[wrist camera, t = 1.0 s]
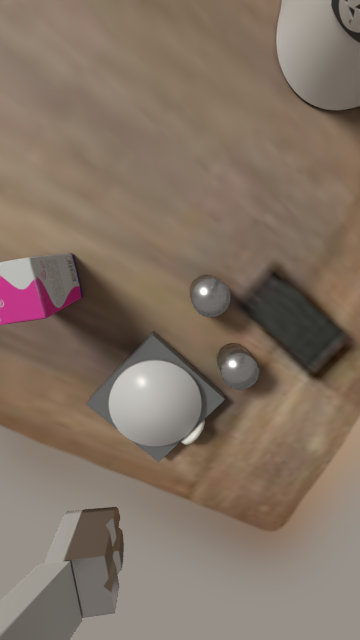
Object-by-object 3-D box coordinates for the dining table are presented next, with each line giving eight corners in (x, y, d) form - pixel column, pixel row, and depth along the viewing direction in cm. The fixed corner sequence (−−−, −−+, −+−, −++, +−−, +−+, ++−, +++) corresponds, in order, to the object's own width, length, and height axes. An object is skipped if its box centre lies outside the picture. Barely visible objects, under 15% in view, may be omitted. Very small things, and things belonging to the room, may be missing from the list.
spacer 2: (233, 336, 42) (241, 348, 37) (255, 357, 42) (266, 372, 38) (210, 359, 42) (215, 373, 37) (232, 379, 43) (240, 396, 38)
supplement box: (26, 260, 39) (-33, 265, 28) (73, 252, 39) (33, 255, 28) (38, 305, 40) (-13, 328, 29) (84, 298, 40) (49, 318, 29)
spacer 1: (206, 267, 39) (211, 270, 35) (230, 291, 40) (238, 297, 35) (182, 292, 40) (183, 299, 35) (206, 315, 41) (211, 324, 36)
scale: (154, 329, 42) (151, 338, 38) (225, 392, 44) (230, 408, 40) (91, 393, 44) (83, 409, 40) (163, 451, 46) (162, 472, 42)
